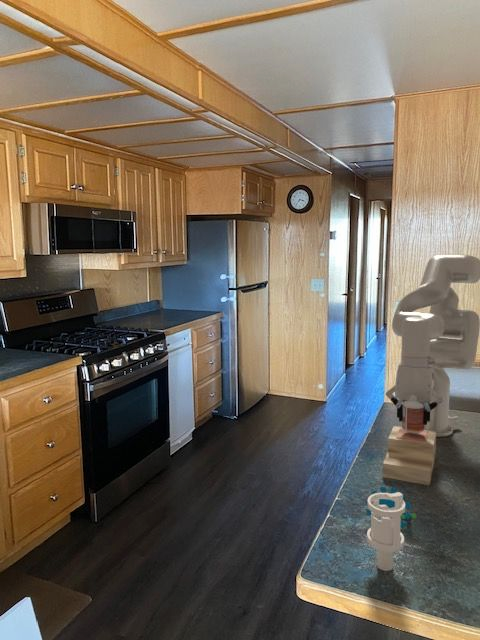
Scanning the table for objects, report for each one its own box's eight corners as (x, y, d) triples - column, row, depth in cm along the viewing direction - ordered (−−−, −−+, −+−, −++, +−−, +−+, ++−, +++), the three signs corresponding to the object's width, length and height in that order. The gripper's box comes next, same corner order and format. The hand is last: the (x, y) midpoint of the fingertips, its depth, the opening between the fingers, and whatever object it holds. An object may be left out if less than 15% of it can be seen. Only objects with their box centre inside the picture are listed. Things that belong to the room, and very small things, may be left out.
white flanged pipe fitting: (410, 572, 96) (413, 501, 93) (380, 581, 93) (382, 509, 91) (388, 551, 102) (389, 484, 100) (359, 559, 100) (360, 491, 97)
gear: (359, 520, 111) (372, 479, 115) (361, 527, 115) (374, 486, 120) (409, 540, 105) (421, 496, 110) (410, 546, 110) (421, 503, 114)
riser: (393, 450, 149) (393, 425, 148) (435, 457, 144) (436, 431, 143) (382, 476, 133) (383, 448, 132) (429, 485, 128) (430, 456, 127)
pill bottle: (429, 430, 140) (430, 393, 138) (415, 435, 137) (416, 397, 135) (410, 424, 145) (412, 388, 143) (397, 428, 142) (398, 392, 140)
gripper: (449, 360, 137) (446, 421, 140) (385, 355, 144) (384, 413, 148) (447, 367, 130) (444, 431, 133) (381, 361, 138) (380, 422, 141)
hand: (413, 421), depth 140 cm, fingers closed on pill bottle, 6 cm apart
